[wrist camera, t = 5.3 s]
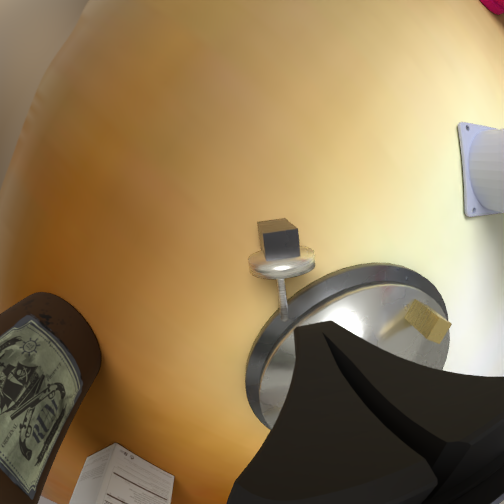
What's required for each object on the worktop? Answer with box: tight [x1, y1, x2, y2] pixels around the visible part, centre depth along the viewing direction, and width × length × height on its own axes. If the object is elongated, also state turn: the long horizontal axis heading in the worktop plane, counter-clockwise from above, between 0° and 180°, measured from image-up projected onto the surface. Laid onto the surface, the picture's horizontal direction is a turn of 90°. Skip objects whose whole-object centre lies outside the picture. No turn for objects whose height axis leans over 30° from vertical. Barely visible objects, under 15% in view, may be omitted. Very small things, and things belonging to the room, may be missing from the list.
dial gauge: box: [248, 218, 315, 321], centre depth 16 cm, size 4×6×5 cm, turn 8°
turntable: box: [259, 281, 452, 429], centre depth 18 cm, size 17×17×4 cm
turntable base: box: [245, 263, 448, 430], centre depth 21 cm, size 19×19×1 cm
